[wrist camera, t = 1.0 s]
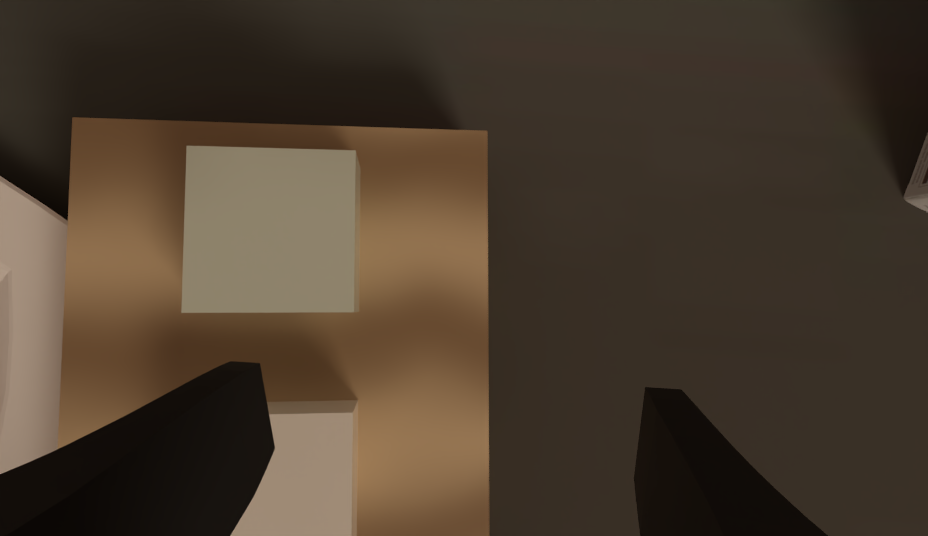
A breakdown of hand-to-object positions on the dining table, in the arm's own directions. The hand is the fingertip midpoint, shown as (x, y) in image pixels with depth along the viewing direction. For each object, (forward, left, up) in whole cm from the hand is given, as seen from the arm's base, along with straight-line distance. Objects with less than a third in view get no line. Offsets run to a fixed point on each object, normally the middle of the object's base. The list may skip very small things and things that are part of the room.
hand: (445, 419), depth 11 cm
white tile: (-4, +5, -9) cm, 11 cm away
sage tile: (+4, +5, -9) cm, 11 cm away
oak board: (0, +5, -13) cm, 14 cm away
